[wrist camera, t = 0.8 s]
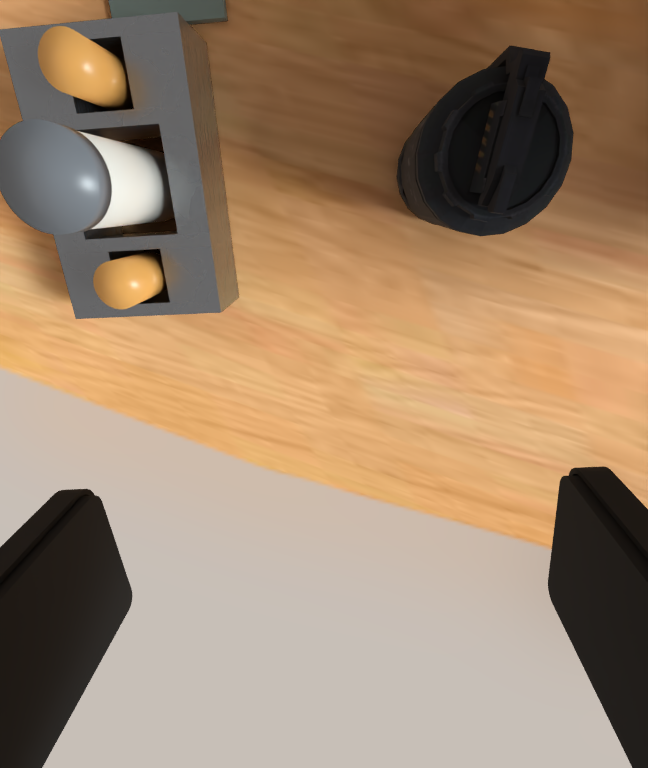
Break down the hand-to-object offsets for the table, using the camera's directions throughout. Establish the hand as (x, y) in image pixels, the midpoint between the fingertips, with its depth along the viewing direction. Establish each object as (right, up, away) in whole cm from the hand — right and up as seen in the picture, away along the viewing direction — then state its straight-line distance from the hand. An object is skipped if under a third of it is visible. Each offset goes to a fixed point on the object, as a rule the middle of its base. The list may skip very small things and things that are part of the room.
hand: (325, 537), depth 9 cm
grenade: (+8, +18, +21) cm, 29 cm away
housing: (-12, +17, +22) cm, 31 cm away
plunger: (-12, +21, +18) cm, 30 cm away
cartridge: (-12, +17, +22) cm, 31 cm away
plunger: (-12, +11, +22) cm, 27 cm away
